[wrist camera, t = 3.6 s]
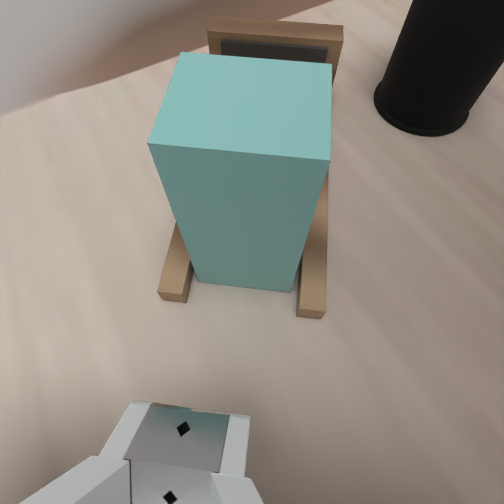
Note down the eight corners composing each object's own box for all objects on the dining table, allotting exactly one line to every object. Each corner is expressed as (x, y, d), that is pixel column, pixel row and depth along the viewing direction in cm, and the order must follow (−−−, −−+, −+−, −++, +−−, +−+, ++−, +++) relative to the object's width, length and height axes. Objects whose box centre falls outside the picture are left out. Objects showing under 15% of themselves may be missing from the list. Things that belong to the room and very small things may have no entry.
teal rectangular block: (290, 292, 21) (330, 160, 10) (198, 281, 21) (147, 143, 11) (295, 227, 23) (332, 64, 13) (212, 218, 24) (181, 51, 13)
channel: (320, 319, 20) (345, 282, 15) (162, 299, 21) (133, 257, 16) (326, 96, 30) (343, 25, 25) (218, 87, 30) (211, 15, 25)
